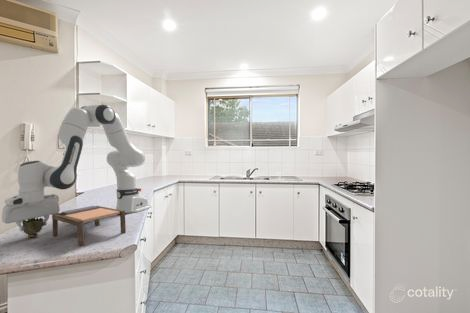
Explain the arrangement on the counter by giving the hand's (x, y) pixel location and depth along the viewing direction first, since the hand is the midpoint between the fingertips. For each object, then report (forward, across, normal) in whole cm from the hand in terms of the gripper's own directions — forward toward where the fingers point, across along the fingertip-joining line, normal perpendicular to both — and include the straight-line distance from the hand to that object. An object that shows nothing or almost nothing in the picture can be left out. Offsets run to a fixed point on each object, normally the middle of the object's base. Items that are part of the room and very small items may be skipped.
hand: (33, 228), depth 112 cm
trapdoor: (-4, -15, +20) cm, 25 cm away
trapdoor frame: (+4, -15, +19) cm, 24 cm away
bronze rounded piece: (+4, +1, 0) cm, 4 cm away
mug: (+5, -22, -5) cm, 23 cm away
